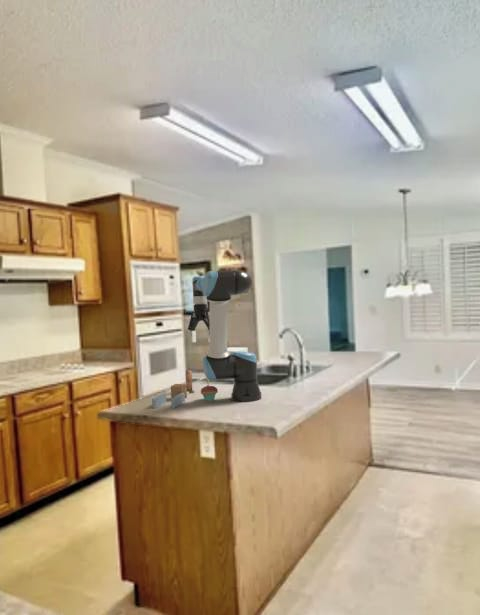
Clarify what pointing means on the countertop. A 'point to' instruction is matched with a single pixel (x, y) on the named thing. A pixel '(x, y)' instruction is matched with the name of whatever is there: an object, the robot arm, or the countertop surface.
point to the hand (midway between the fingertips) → (201, 341)
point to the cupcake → (209, 392)
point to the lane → (163, 398)
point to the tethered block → (183, 386)
